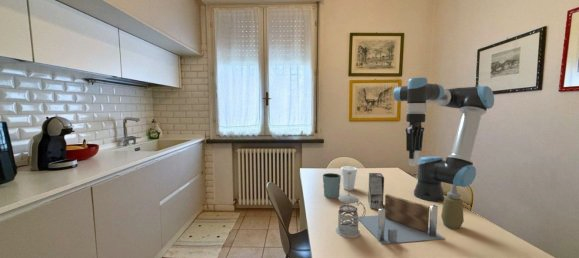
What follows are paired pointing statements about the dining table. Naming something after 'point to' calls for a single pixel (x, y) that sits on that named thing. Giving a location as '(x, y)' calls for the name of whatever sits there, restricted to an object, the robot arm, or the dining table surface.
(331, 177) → the grey-green cup
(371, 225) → the mat
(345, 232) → the french press
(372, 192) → the coffee box
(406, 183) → the dining table surface
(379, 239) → the posts
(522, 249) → the dining table surface
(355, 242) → the dining table surface
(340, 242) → the dining table surface
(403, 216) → the wooden plank
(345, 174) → the foam cup
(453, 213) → the squeeze bottle
